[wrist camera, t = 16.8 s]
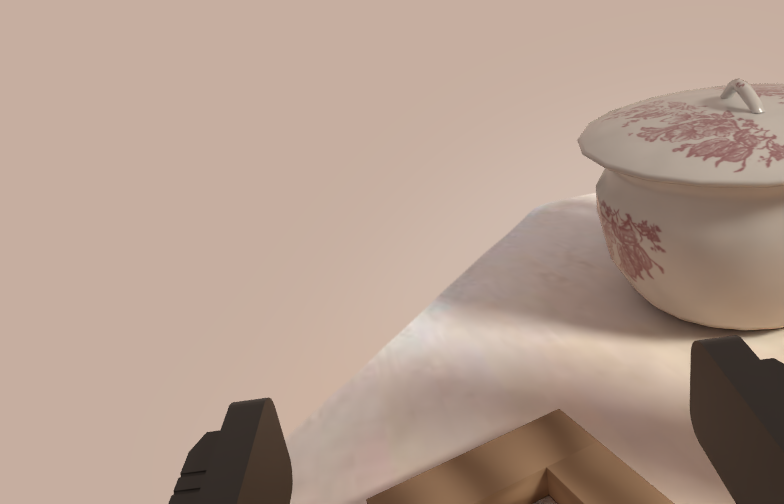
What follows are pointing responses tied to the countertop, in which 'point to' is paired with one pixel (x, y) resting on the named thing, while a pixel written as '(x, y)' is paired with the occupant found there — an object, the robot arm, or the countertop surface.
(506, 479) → the socket board
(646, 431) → the countertop surface
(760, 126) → the chamber pot
